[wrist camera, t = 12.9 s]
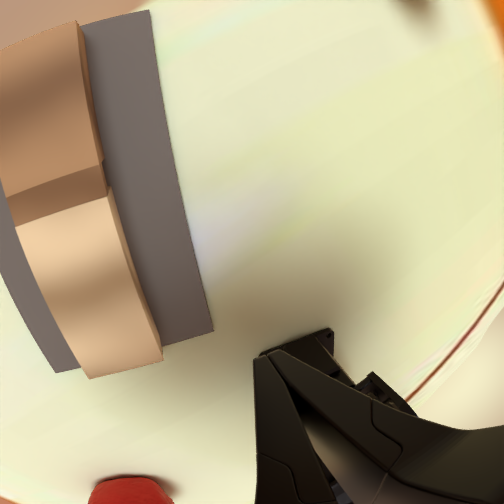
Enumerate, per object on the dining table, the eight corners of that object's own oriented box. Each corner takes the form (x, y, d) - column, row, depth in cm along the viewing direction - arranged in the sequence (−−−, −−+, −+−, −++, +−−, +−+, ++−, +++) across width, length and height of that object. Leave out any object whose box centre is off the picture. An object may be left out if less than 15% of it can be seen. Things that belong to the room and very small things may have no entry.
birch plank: (159, 335, 20) (164, 360, 18) (90, 353, 19) (89, 379, 17) (105, 164, 15) (100, 171, 13) (23, 191, 14) (7, 204, 12)
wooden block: (111, 185, 16) (107, 196, 13) (29, 212, 14) (15, 227, 12) (84, 33, 12) (75, 20, 10) (-1, 66, 10) (-20, 60, 8)
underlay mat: (212, 327, 22) (213, 331, 21) (56, 368, 19) (55, 373, 18) (148, 12, 13) (149, 9, 12) (-45, 84, 10) (-49, 84, 9)
